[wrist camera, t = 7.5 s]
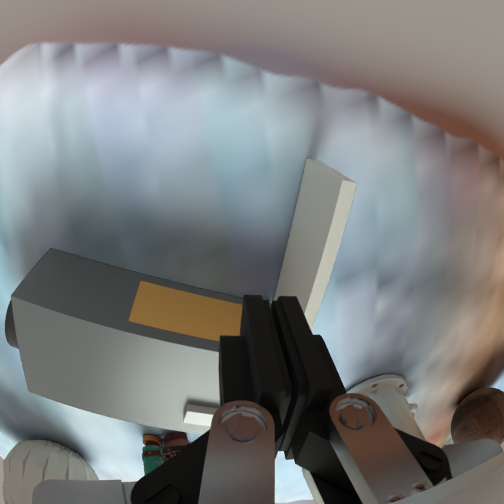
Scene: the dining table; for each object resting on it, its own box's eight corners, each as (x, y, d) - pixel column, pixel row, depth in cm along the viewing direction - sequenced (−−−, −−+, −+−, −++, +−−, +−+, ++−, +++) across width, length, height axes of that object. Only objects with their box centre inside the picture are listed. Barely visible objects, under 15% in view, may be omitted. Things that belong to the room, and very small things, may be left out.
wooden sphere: (431, 428, 54) (457, 477, 40) (452, 390, 47) (488, 445, 34) (477, 404, 55) (505, 446, 41) (501, 364, 48) (536, 409, 34)
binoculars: (223, 501, 34) (160, 510, 33) (211, 446, 44) (155, 457, 42) (203, 483, 30) (132, 493, 29) (193, 420, 39) (131, 432, 38)
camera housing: (271, 303, 31) (291, 369, 23) (233, 382, 35) (241, 444, 27) (30, 241, 24) (-17, 292, 16) (35, 333, 29) (7, 389, 21)
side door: (289, 308, 31) (309, 361, 24) (271, 307, 30) (288, 362, 24) (326, 162, 25) (368, 185, 18) (306, 158, 24) (342, 180, 18)
